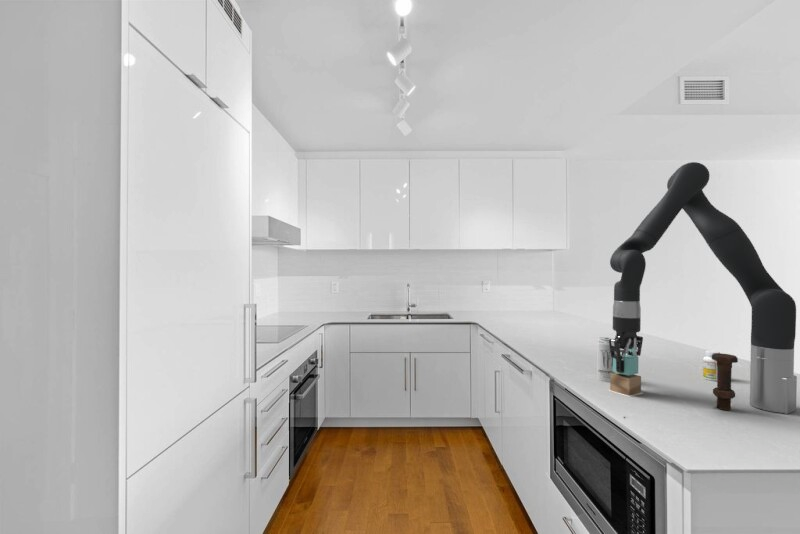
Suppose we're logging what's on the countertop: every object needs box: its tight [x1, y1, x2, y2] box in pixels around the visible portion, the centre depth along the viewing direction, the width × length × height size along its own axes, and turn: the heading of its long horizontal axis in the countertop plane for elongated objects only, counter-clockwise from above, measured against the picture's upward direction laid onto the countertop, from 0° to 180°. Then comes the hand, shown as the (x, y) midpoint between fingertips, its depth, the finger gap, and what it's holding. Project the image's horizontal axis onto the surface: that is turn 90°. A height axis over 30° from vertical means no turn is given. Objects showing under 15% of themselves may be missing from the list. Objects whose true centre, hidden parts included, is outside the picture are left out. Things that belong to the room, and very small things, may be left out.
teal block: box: [613, 353, 639, 376], centre depth 132 cm, size 5×5×5 cm
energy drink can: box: [596, 336, 616, 383], centre depth 146 cm, size 6×6×15 cm
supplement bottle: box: [702, 349, 721, 382], centre depth 151 cm, size 5×5×10 cm
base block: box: [609, 373, 642, 397], centre depth 132 cm, size 6×6×5 cm
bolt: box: [712, 352, 739, 411], centre depth 120 cm, size 6×5×15 cm
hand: (625, 371), depth 132 cm, fingers closed on teal block, 5 cm apart
